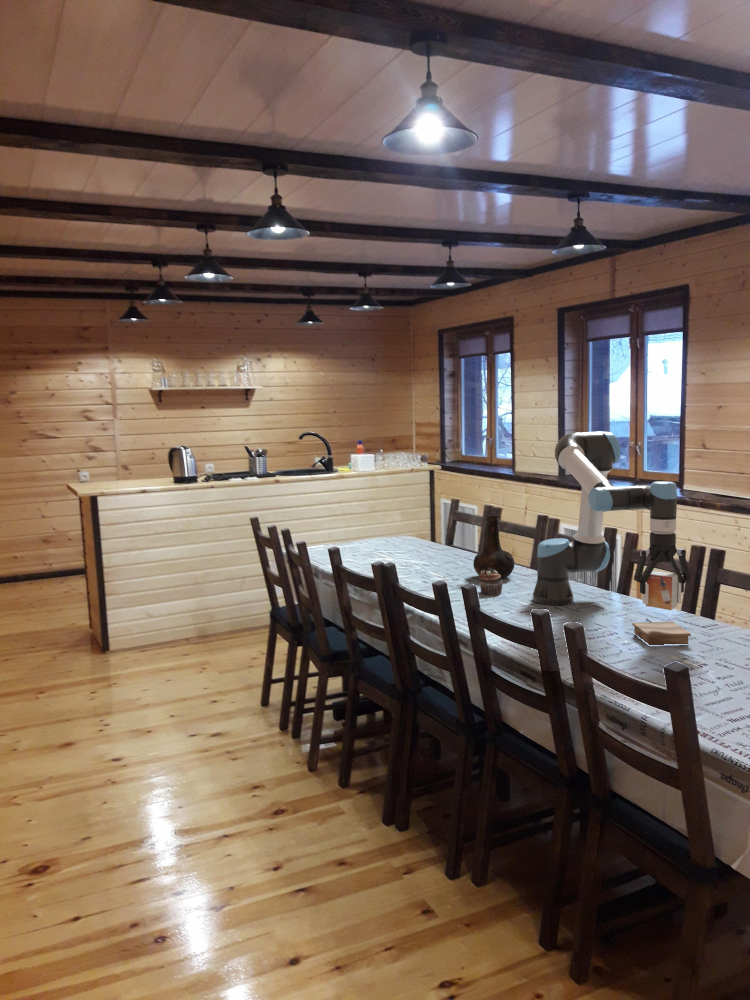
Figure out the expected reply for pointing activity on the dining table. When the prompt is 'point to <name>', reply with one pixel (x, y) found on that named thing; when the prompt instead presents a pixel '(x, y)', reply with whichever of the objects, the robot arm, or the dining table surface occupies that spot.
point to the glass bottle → (494, 552)
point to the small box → (662, 590)
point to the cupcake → (490, 582)
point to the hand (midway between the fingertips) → (661, 603)
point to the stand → (661, 633)
